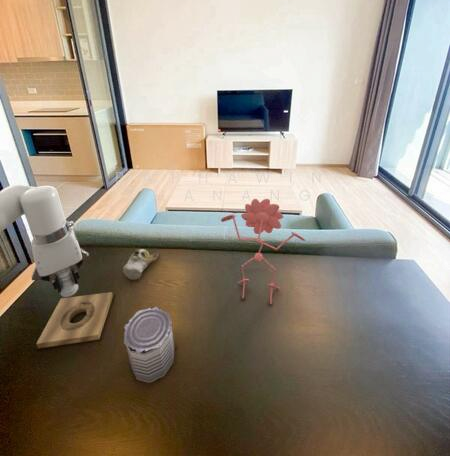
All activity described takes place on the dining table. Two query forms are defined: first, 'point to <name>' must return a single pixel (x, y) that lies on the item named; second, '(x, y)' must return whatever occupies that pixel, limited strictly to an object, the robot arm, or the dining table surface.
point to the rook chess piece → (67, 283)
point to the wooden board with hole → (81, 331)
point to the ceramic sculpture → (138, 263)
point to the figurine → (261, 229)
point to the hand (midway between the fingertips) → (67, 284)
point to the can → (149, 343)
